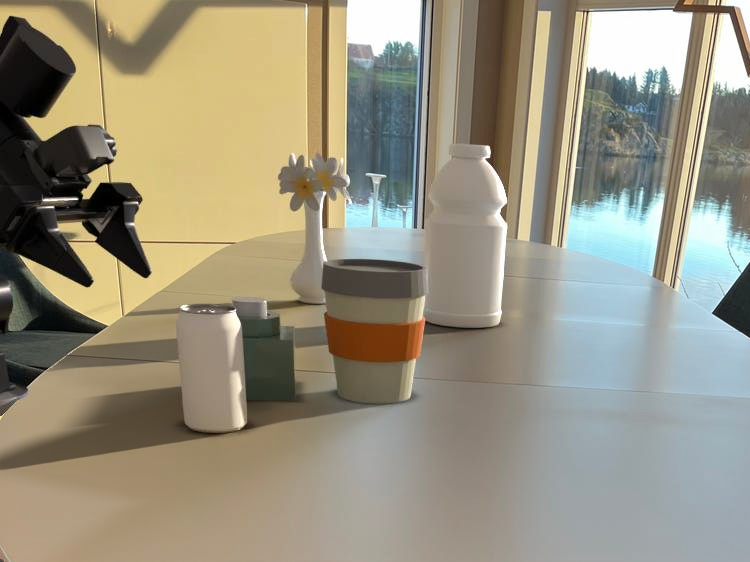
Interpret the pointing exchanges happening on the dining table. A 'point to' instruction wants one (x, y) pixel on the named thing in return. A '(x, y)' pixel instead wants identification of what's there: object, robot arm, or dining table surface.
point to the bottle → (465, 242)
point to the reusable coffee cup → (374, 326)
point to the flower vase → (312, 217)
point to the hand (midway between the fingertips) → (120, 279)
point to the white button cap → (250, 306)
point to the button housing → (269, 358)
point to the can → (211, 368)
